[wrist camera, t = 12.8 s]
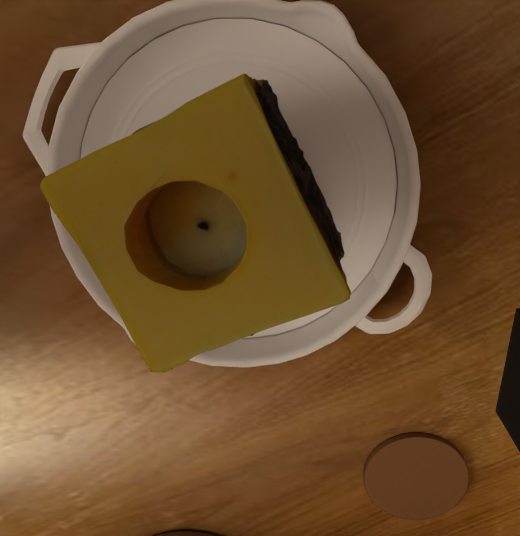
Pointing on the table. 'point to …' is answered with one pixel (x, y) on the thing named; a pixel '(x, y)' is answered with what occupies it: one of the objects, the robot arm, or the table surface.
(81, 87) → the pan
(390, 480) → the coaster
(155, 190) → the candle
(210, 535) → the vase
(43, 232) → the table surface
